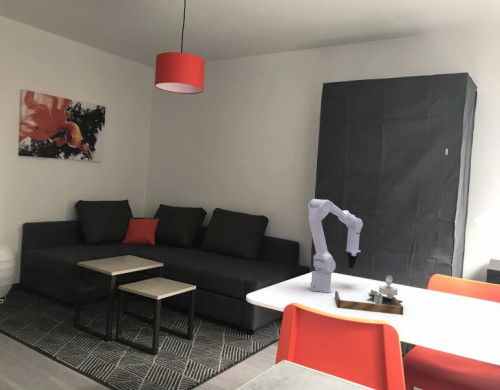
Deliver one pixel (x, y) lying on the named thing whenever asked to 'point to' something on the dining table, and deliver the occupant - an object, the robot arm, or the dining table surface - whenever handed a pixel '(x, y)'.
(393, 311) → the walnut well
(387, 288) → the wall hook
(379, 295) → the metal bracket
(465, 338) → the dining table surface
